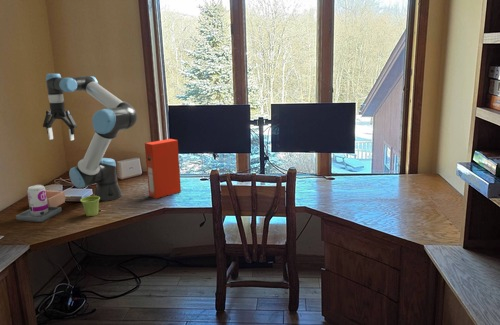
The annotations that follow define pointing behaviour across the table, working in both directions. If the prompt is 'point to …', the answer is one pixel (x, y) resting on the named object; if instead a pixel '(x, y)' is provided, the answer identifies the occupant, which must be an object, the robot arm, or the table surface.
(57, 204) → the holder
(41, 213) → the supplement can
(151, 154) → the file binder
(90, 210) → the plant pot
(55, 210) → the tray
